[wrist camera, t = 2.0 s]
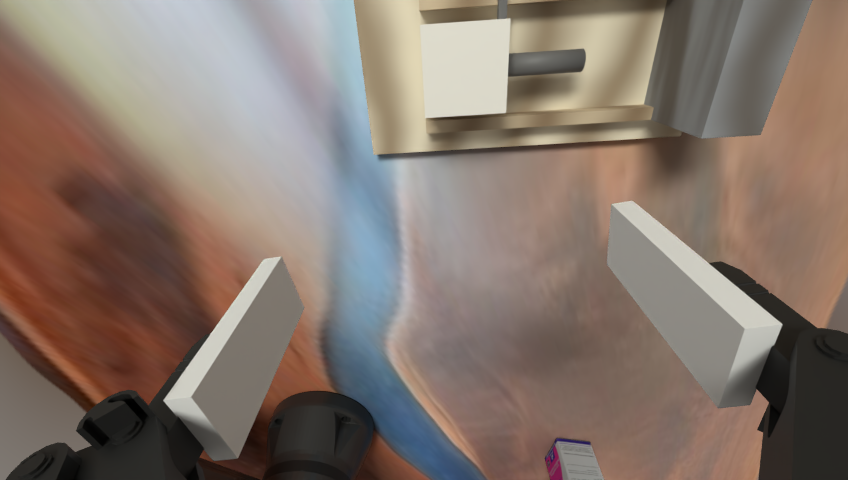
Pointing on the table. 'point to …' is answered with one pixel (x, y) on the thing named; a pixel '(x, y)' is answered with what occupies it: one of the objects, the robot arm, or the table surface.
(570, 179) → the table surface
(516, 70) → the white block with rods
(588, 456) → the supplement box
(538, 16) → the board
